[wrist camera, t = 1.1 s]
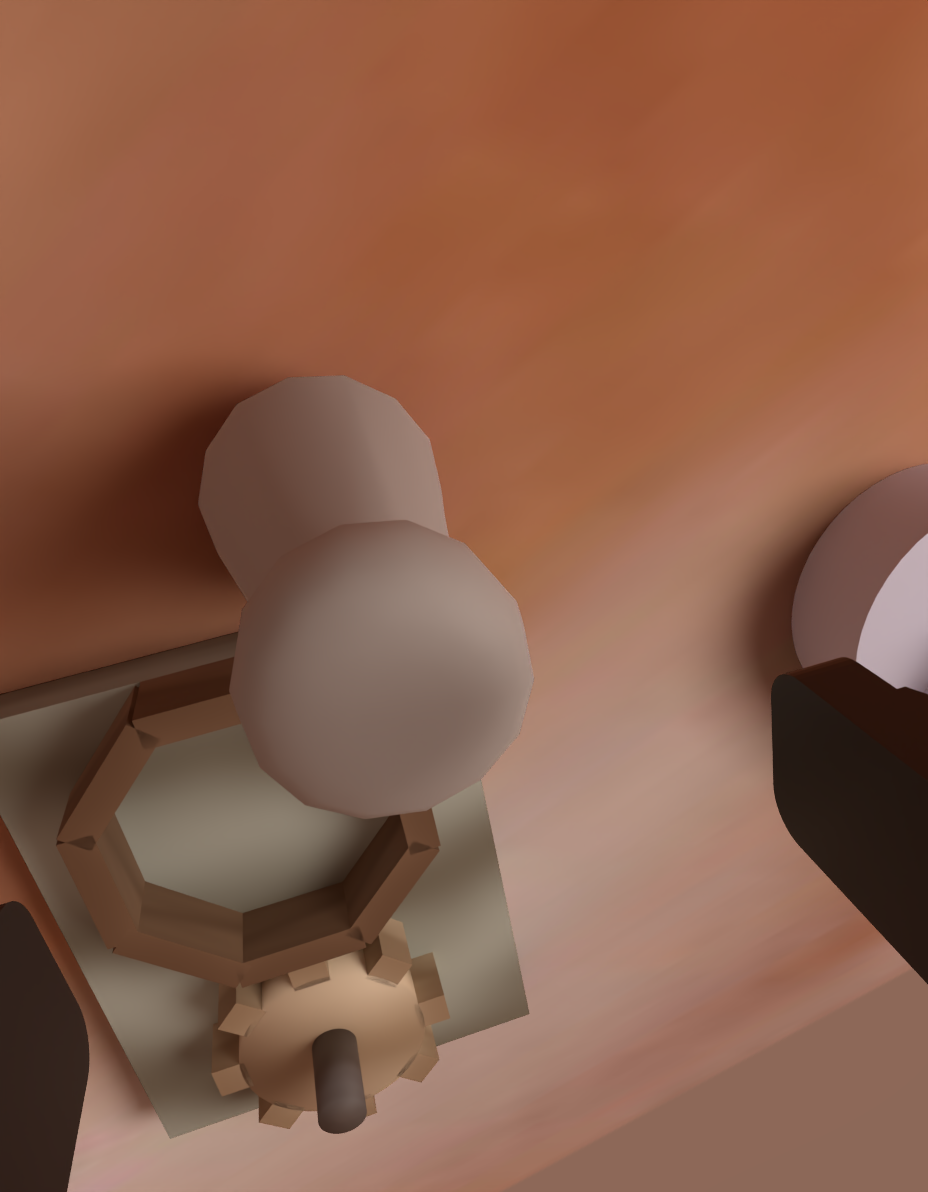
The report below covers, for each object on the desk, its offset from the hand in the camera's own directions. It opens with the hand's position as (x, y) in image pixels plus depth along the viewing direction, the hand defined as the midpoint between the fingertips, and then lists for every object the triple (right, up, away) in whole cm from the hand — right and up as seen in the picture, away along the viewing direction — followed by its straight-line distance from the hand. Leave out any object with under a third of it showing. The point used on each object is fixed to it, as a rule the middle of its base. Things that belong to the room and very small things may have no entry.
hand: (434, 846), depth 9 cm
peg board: (-5, -6, +18) cm, 20 cm away
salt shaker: (-4, +6, +14) cm, 16 cm away
